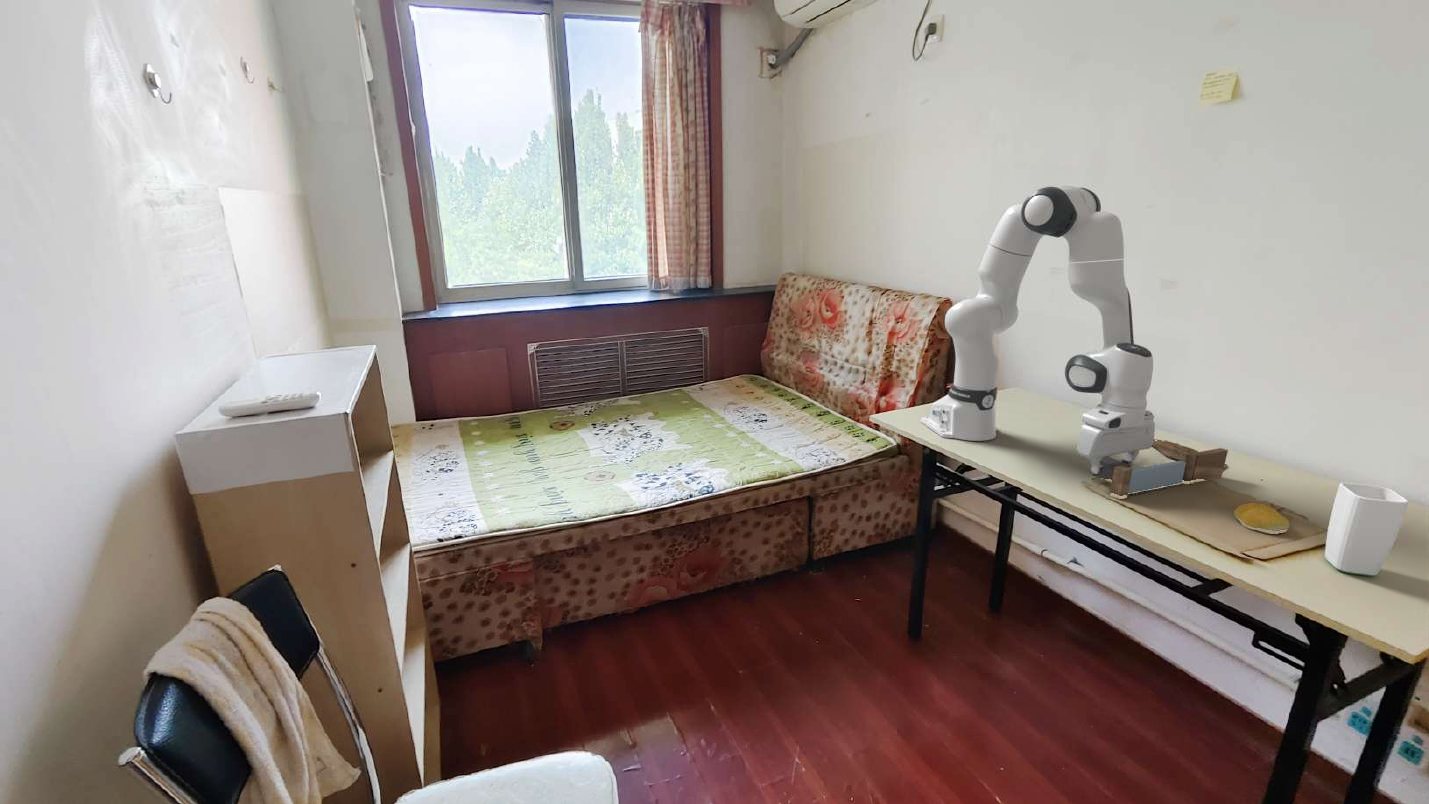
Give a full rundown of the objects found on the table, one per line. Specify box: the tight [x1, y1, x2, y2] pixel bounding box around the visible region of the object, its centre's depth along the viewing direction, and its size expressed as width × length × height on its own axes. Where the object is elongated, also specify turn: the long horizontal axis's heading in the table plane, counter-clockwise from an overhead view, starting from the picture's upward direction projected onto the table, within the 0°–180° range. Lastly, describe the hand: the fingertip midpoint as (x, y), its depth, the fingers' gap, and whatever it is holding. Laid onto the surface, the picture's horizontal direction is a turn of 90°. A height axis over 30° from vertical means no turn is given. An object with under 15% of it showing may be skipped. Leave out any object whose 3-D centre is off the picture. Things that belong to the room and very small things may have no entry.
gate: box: [1128, 460, 1186, 493], centre depth 146 cm, size 1×17×6 cm, turn 109°
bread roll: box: [1233, 502, 1290, 531], centre depth 130 cm, size 8×9×4 cm
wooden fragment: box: [1151, 438, 1228, 472], centre depth 168 cm, size 26×11×1 cm, turn 4°
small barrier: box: [1109, 447, 1229, 496], centre depth 147 cm, size 2×33×7 cm, turn 109°
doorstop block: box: [1092, 456, 1131, 480], centre depth 152 cm, size 6×4×4 cm, turn 19°
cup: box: [1324, 482, 1410, 577], centre depth 112 cm, size 7×7×15 cm
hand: (1111, 469), depth 152 cm, fingers open, 8 cm apart
